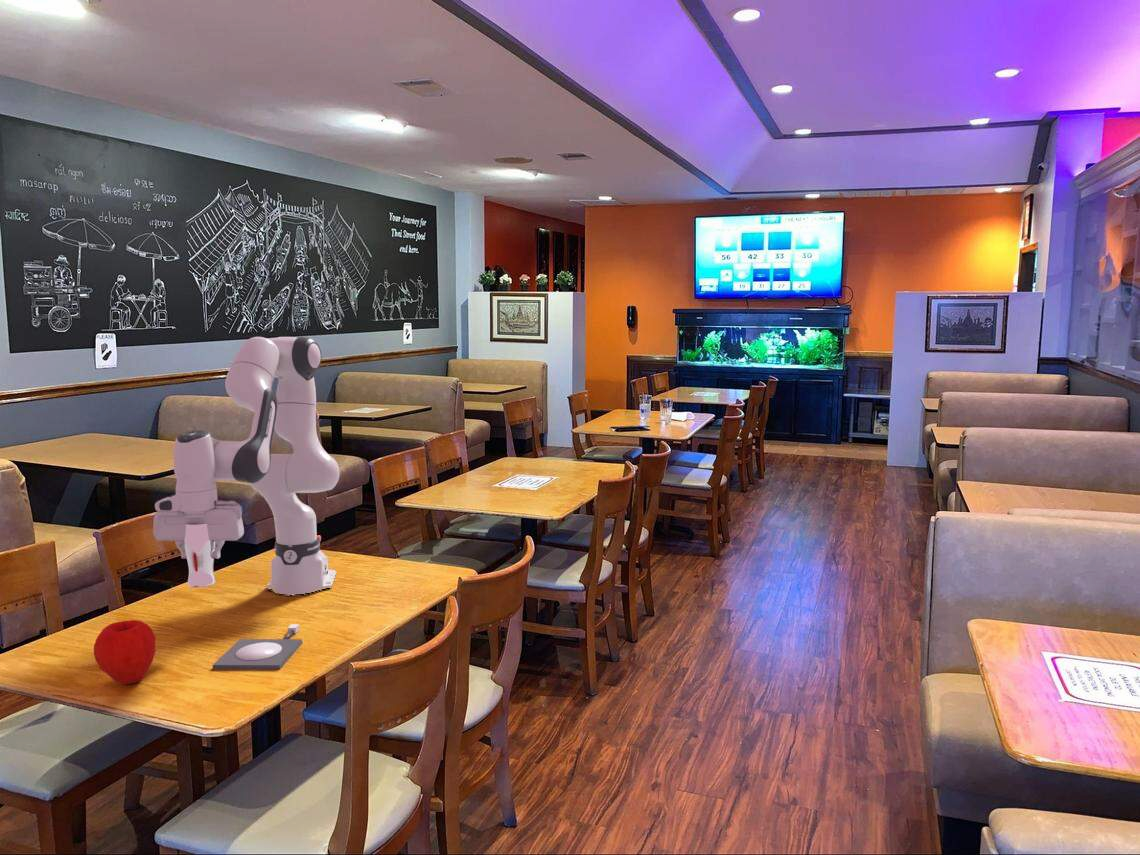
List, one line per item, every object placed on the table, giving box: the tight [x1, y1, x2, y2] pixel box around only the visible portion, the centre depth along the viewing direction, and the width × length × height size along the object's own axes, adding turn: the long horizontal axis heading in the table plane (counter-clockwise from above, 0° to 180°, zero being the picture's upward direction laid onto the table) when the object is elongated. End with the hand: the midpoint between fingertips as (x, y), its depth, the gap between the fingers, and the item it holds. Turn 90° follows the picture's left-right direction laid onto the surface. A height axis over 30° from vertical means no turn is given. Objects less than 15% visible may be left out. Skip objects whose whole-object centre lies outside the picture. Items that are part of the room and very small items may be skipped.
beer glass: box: [184, 523, 217, 588], centre depth 201 cm, size 7×7×15 cm
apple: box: [93, 619, 157, 685], centre depth 182 cm, size 12×12×13 cm
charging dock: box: [212, 623, 303, 670], centre depth 200 cm, size 23×15×2 cm, turn 179°
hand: (201, 558), depth 201 cm, fingers closed on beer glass, 6 cm apart
